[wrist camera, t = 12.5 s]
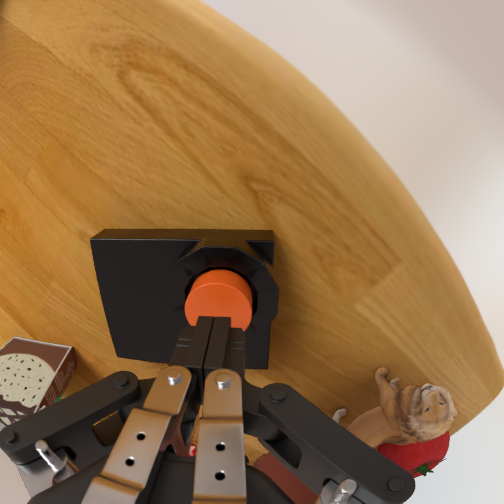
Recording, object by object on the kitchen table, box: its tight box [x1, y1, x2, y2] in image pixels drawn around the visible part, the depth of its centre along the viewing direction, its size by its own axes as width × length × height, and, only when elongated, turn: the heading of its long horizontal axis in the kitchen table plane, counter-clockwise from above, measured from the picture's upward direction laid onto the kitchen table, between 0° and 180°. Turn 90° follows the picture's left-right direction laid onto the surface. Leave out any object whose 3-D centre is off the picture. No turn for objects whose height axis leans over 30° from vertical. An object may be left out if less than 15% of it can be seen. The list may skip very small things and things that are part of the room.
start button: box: [185, 269, 253, 331], centre depth 16 cm, size 4×4×2 cm
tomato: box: [377, 430, 450, 478], centre depth 24 cm, size 9×9×8 cm
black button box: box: [90, 229, 279, 369], centre depth 20 cm, size 10×12×4 cm
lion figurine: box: [332, 367, 458, 448], centre depth 21 cm, size 15×5×9 cm, turn 133°
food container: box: [0, 336, 76, 430], centre depth 21 cm, size 12×6×10 cm, turn 93°
